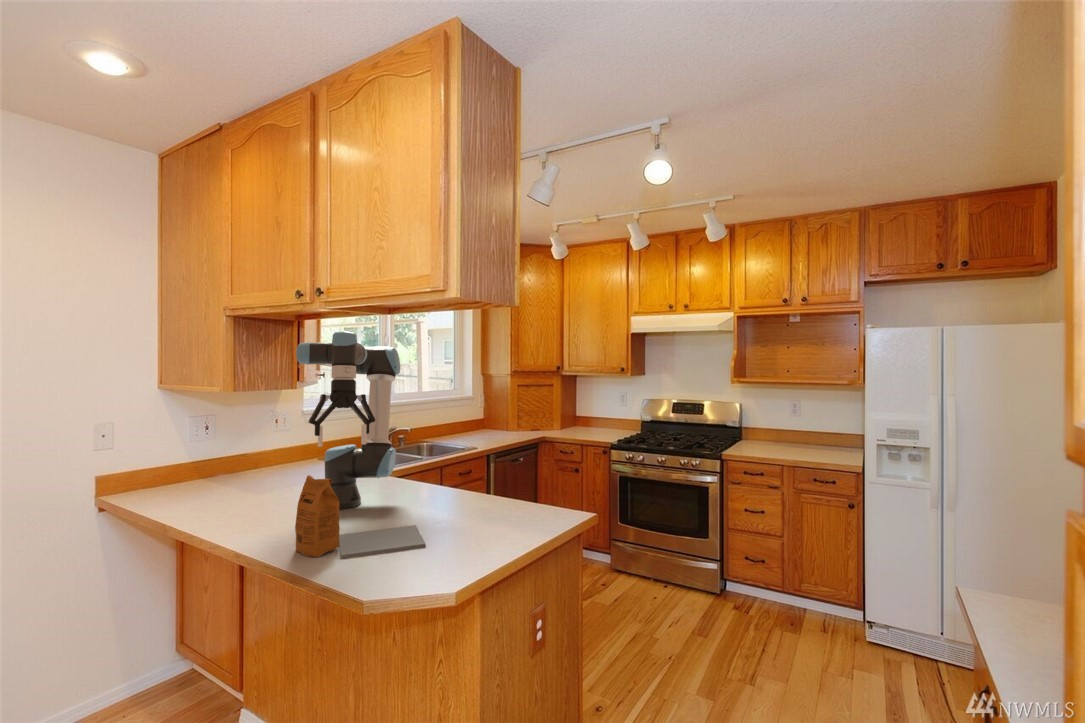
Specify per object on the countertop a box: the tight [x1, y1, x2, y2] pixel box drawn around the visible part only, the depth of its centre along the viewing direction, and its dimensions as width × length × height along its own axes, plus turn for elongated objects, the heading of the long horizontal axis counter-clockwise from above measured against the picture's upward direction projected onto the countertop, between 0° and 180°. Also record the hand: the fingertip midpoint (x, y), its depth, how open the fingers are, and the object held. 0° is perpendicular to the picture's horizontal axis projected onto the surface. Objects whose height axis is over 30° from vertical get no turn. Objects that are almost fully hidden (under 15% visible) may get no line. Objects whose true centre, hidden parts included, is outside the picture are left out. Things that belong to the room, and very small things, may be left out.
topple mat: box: [339, 524, 427, 559], centre depth 161 cm, size 20×24×1 cm
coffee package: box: [294, 474, 341, 558], centre depth 154 cm, size 10×12×22 cm
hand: (342, 445), depth 166 cm, fingers open, 13 cm apart
